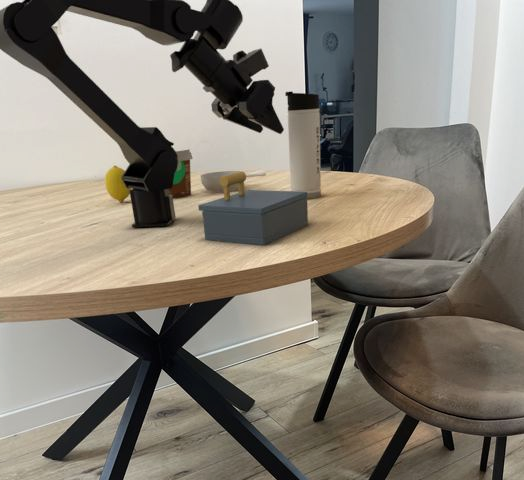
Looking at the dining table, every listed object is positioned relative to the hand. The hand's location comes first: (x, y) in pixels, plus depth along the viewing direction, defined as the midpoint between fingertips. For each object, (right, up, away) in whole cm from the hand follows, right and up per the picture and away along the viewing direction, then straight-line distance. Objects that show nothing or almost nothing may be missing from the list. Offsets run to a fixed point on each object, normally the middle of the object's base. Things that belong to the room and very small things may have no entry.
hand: (271, 131), depth 100 cm
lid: (-3, -20, -20) cm, 28 cm away
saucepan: (-8, -4, +24) cm, 25 cm away
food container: (-24, -7, +19) cm, 31 cm away
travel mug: (+7, -10, +8) cm, 15 cm away
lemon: (-34, -9, +17) cm, 39 cm away
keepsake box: (-2, -24, -18) cm, 30 cm away
